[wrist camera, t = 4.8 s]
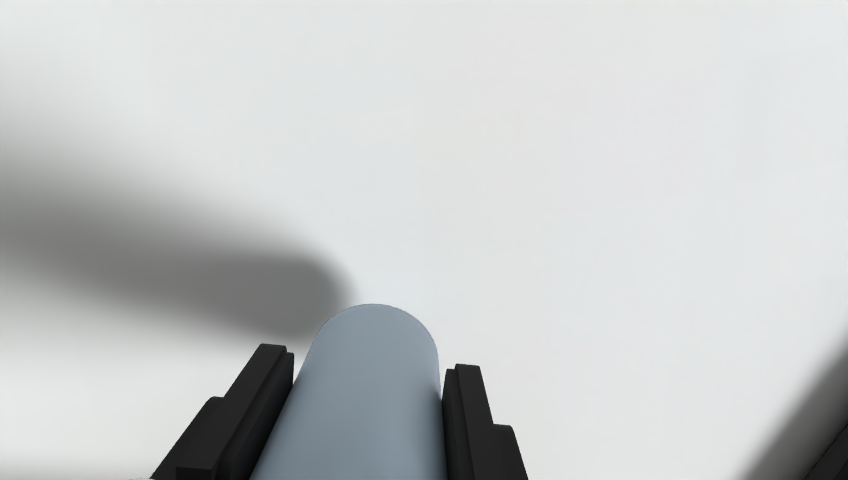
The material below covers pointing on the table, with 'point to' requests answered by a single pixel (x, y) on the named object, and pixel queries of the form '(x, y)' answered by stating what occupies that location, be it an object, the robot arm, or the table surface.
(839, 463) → the electric trimmer
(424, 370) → the peg
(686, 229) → the table surface
